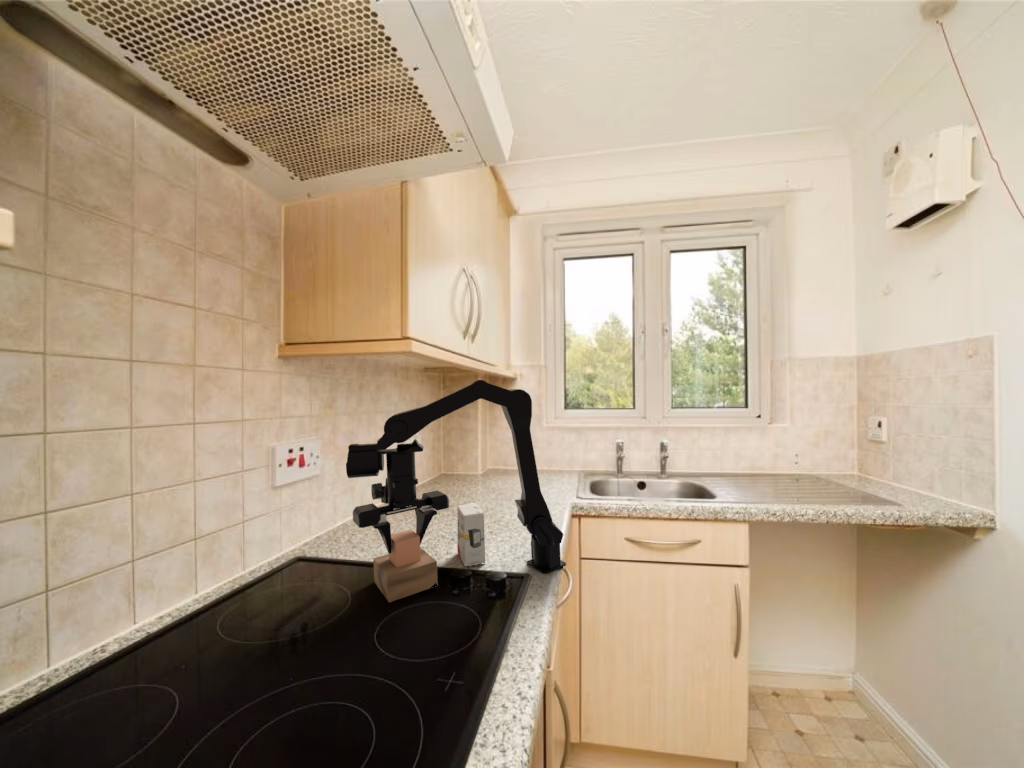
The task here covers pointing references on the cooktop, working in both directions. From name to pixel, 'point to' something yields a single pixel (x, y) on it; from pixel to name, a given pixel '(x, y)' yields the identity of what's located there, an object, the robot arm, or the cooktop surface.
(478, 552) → the ink box
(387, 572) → the walnut block
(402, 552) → the terracotta cube
